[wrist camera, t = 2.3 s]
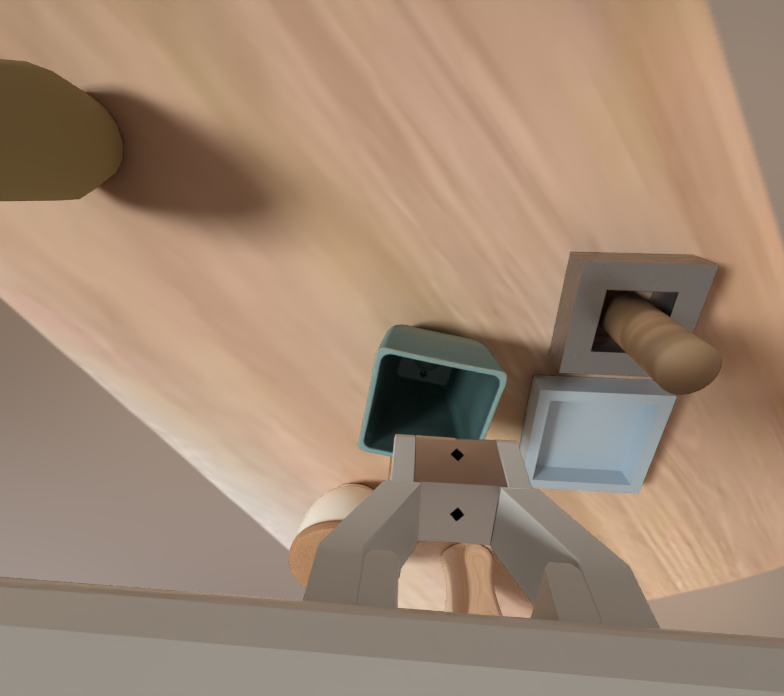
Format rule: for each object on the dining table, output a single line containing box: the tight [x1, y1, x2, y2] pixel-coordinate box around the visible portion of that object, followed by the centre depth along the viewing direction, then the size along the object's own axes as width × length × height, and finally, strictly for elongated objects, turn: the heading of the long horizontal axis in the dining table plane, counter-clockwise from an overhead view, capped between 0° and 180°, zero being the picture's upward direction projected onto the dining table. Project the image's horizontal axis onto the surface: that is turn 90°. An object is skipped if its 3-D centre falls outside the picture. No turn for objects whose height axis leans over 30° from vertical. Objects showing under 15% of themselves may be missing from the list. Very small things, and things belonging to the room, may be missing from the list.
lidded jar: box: [288, 483, 401, 588], centre depth 40 cm, size 11×11×9 cm
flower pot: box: [358, 325, 508, 457], centre depth 31 cm, size 9×9×9 cm
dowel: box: [598, 290, 722, 395], centre depth 28 cm, size 4×4×10 cm
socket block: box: [549, 252, 719, 377], centre depth 31 cm, size 9×9×3 cm
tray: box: [519, 375, 677, 494], centre depth 37 cm, size 11×11×2 cm
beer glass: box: [441, 543, 503, 616], centre depth 40 cm, size 7×7×15 cm
